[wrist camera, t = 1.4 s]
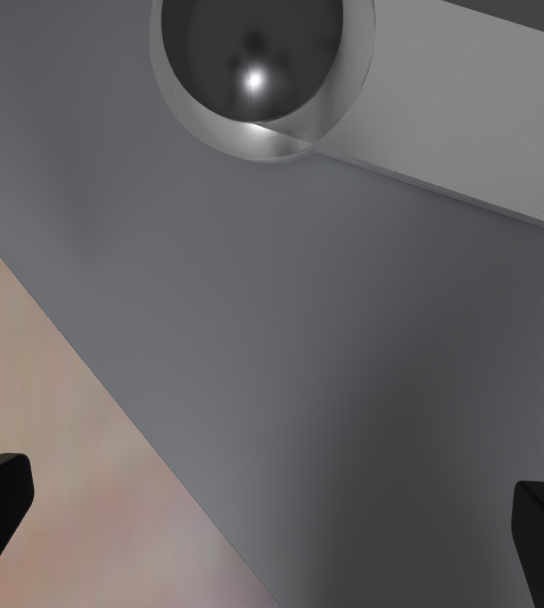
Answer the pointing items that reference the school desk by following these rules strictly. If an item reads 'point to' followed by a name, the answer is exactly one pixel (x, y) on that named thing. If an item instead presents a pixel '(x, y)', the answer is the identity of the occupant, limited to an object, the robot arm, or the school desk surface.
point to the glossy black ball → (252, 53)
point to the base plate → (281, 322)
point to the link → (407, 104)
